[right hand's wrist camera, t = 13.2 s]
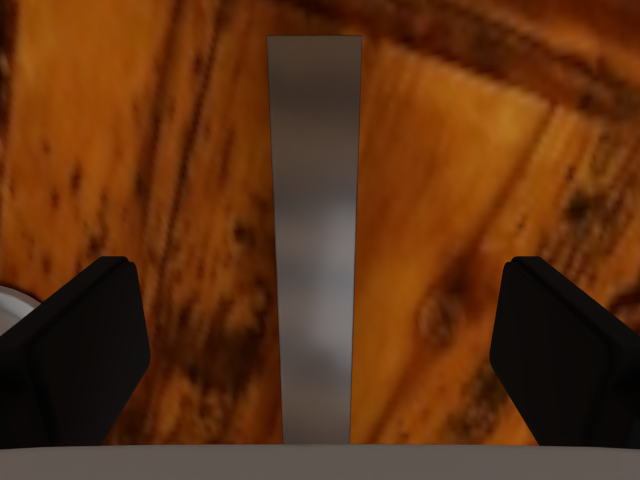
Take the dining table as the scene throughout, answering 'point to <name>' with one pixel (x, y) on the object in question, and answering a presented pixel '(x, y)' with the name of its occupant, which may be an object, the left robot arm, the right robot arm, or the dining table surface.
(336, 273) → the bar
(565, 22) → the dining table surface
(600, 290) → the dining table surface
